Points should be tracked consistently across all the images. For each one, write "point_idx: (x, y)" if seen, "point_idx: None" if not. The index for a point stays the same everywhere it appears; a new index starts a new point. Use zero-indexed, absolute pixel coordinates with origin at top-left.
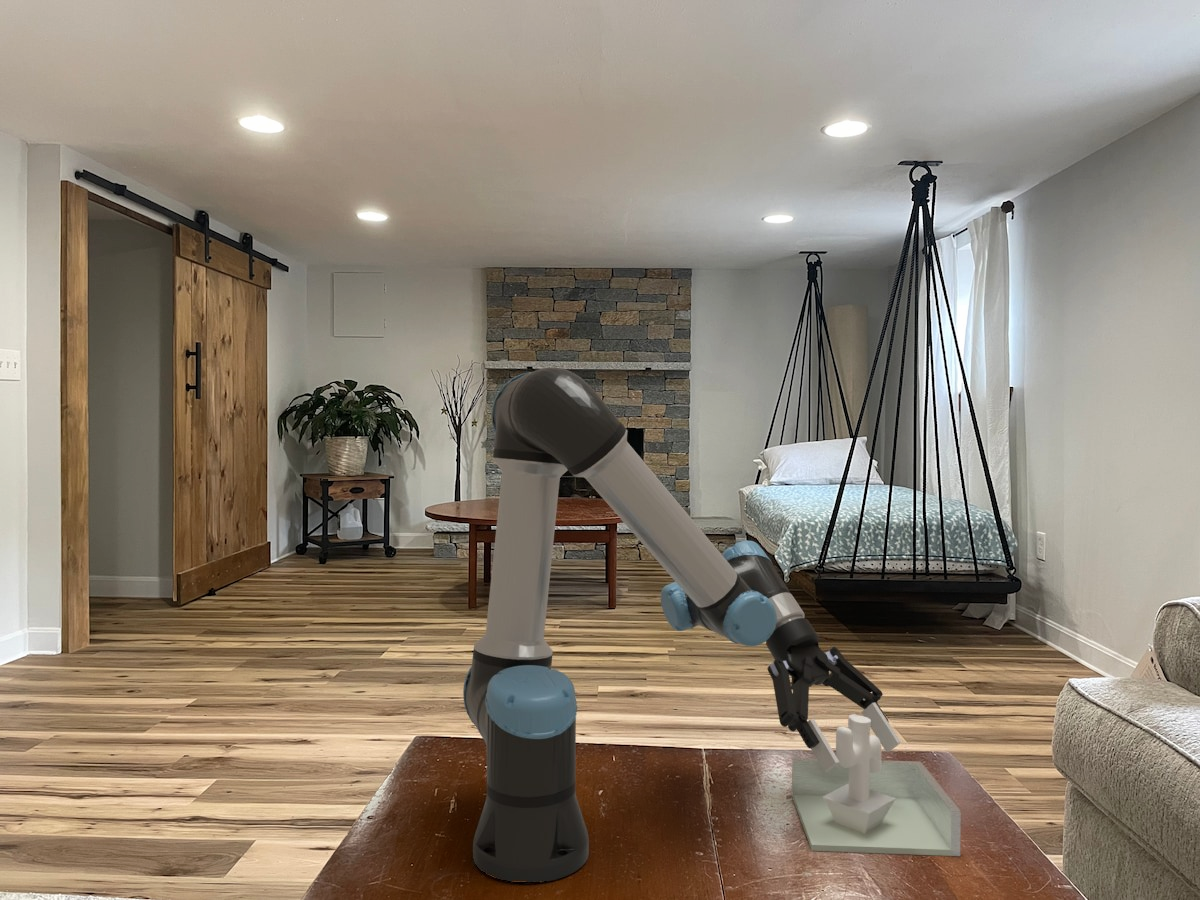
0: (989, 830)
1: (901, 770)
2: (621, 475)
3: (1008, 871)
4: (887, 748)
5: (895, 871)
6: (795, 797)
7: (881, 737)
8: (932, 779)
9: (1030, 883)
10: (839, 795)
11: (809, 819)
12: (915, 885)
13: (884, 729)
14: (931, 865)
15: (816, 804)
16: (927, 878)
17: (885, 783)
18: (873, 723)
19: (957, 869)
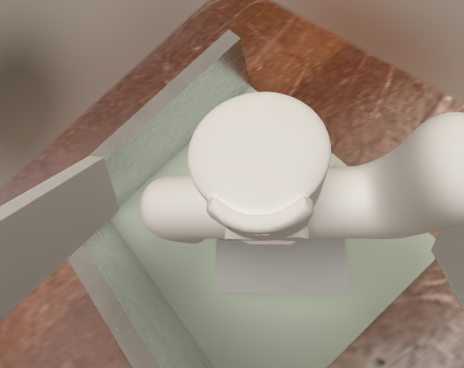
0: (134, 101)
1: None
2: None
3: (235, 32)
4: (111, 205)
5: (367, 113)
6: None
7: (84, 223)
8: (117, 136)
9: (246, 5)
10: (303, 268)
11: (346, 321)
12: (381, 74)
13: (62, 205)
14: (302, 93)
15: (265, 352)
16: (345, 76)
17: (120, 257)
18: (35, 261)
19: (283, 67)
